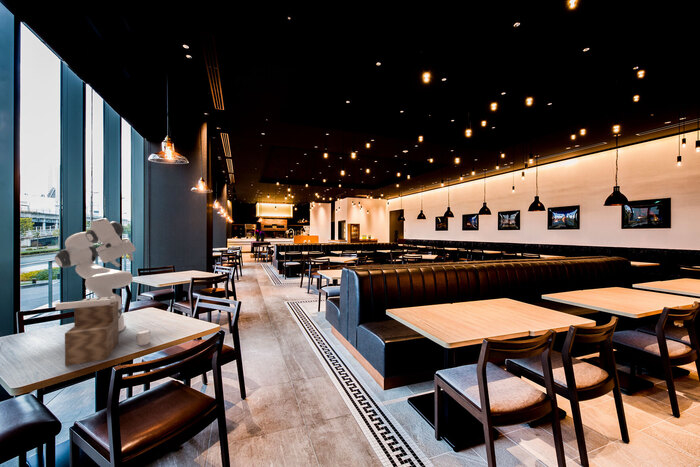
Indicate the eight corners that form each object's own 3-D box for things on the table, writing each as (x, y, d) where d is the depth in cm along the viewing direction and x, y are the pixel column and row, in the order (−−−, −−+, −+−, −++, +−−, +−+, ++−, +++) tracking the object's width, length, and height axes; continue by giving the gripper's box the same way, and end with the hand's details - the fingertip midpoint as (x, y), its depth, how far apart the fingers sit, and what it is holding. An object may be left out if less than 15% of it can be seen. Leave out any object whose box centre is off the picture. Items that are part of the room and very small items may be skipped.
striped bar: (81, 305, 157) (81, 300, 157) (84, 304, 159) (83, 298, 159) (114, 302, 163) (114, 297, 163) (115, 301, 166) (115, 296, 166)
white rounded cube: (141, 341, 170) (141, 329, 170) (153, 340, 171) (153, 329, 171) (133, 345, 164) (133, 333, 163) (145, 345, 164) (145, 333, 164)
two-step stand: (65, 365, 139) (64, 315, 139) (82, 347, 160) (82, 303, 160) (106, 359, 147) (106, 311, 146) (118, 342, 168) (118, 300, 168)
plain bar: (55, 309, 148) (55, 304, 148) (58, 308, 151) (58, 302, 151) (109, 304, 158) (109, 299, 158) (110, 303, 161) (110, 298, 161)
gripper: (123, 239, 182) (135, 258, 185) (92, 250, 163) (106, 271, 166) (131, 236, 181) (142, 255, 184) (100, 247, 161) (114, 268, 165)
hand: (125, 263), depth 175 cm, fingers open, 8 cm apart
